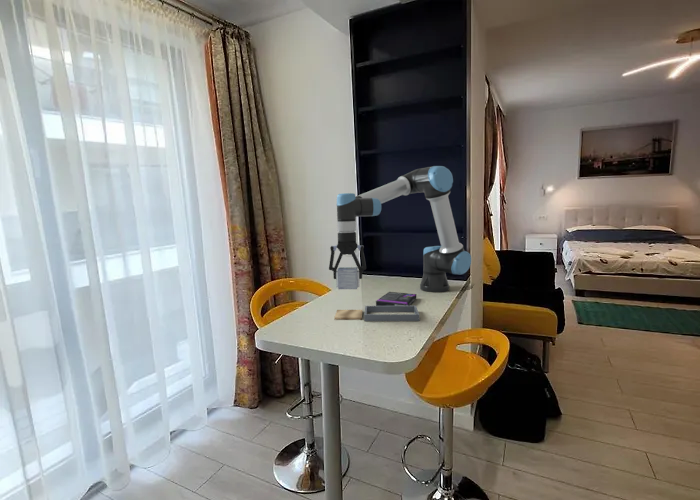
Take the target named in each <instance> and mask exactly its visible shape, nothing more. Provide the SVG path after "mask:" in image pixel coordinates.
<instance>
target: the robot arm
mask: <svg viewBox="0 0 700 500" xmlns="http://www.w3.org/2000/svg"><path fill="white" fill-rule="evenodd" d="M453 183H454V178H453V173H452V172H451V171H450V169H449V168H447V167H446V166H443V165H433V166H427V167H421V168H417V169H414V170H412V171H409V172H408V173H406V174H403V175H401V176H399V177H398V178H397V179H396V180H394V181H391V182H388V183H387V184H386V183H385V184H384V185H382V186H379V187H376V188H374V189H371V190H369V191H367V192H363V193H361V194H359V195H357V196H356V194H355V193H351V192H350V193H349V192H348V193H338V194H337V196H336V216H337V218H336V219H337V220H336V222H337V223H336V224H337V225H336V226H337V227H336V228H337V232H338V233H337V244H336V245H331V246H330V258H329V266H328V270H329V271H332V272H333V279H334V280H335V283H336V284H335V285H336V288H338V268H339V265H340V263H341V260H342V258H343V255H345V256H346V255H351V257H352V259H353V260H354V263H355V265H356V267H357V287H358V288H360V287H361V286H360V284H361V283H360V280H362V279H363V271H365V270H367V264H366V258H365V253H364V249H365V246H364V245H360V244H358V242H357V232H356V231H357V220H356V219H357V218H358V217H375V216H376V217H377V216H379V215H380V214H381V211H382V204H384V203H386V202H389V201H391V200H393V199H396V198H398V197H400V196H409V195H411V194H417V193H418V194H419V193H420V194H421V193H424V198H425V199H426V200H427V201H429V203H430V206H431V211H432V215H433V216H432V217H433V219H434V223H435V228H436V230H437V231H436V232H437V236H438V239H439V243H440V245H434V246H426V247H424V248H423V254H422V260H423V262H422V264H423V272H422V273H423V275H422V278H421V282H420V284H419V289H420V290H421V291H424V292H429V293H430V292H431V293H442V292H443V293H444V292H447V290H448V291H449V290H450V285H449V284H450V283H449V281H448V278H447V274H446V273H449V274H452V275H464V274H466V273H467V272H468V271H469V269H470V267H471V264H472V255H471V254H470V252H468V251H466V250H465V249H464V245H463V244H462V243H461V242H460V240H459V236H458V233H457V228H456V224H455V219H454V216H453V211H452V207H451V203H450V199H449V195H450V194H451V189H452V187H453ZM337 250H338V251H339V252H340V253H339V255H338V258H337V260H336V262H335V264H334V261H335V260H334V259H335V252H336V251H337ZM356 250H358V251H359V253H360V258H361V263H360V260H359V259H358V257H357V254H356V253H355V251H356ZM361 264H362V265H361Z"/></svg>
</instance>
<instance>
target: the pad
mask: <svg viewBox="0 0 700 500" xmlns="http://www.w3.org/2000/svg"><path fill="white" fill-rule="evenodd" d="M363 311H364V310H363V309H337V310H336V313H335V315H334V320H336V321H337V320H344V321H345V320H357V321H358V320H363V319H362V318H363Z"/></svg>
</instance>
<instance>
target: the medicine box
mask: <svg viewBox="0 0 700 500" xmlns="http://www.w3.org/2000/svg"><path fill="white" fill-rule="evenodd" d="M337 271H338V287H337V289H338V290H358V288H359V287H357V271H358V267H357V266H338V268H337Z"/></svg>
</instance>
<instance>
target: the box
mask: <svg viewBox="0 0 700 500" xmlns="http://www.w3.org/2000/svg"><path fill="white" fill-rule="evenodd" d="M416 300H417V293H407V292H397V291H395V292H394V291H388V292H387V293H385V294H384V295H383V296H381V297H379V298H378V299H377V300H375V306H412V305H413V303H414V302H416Z"/></svg>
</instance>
